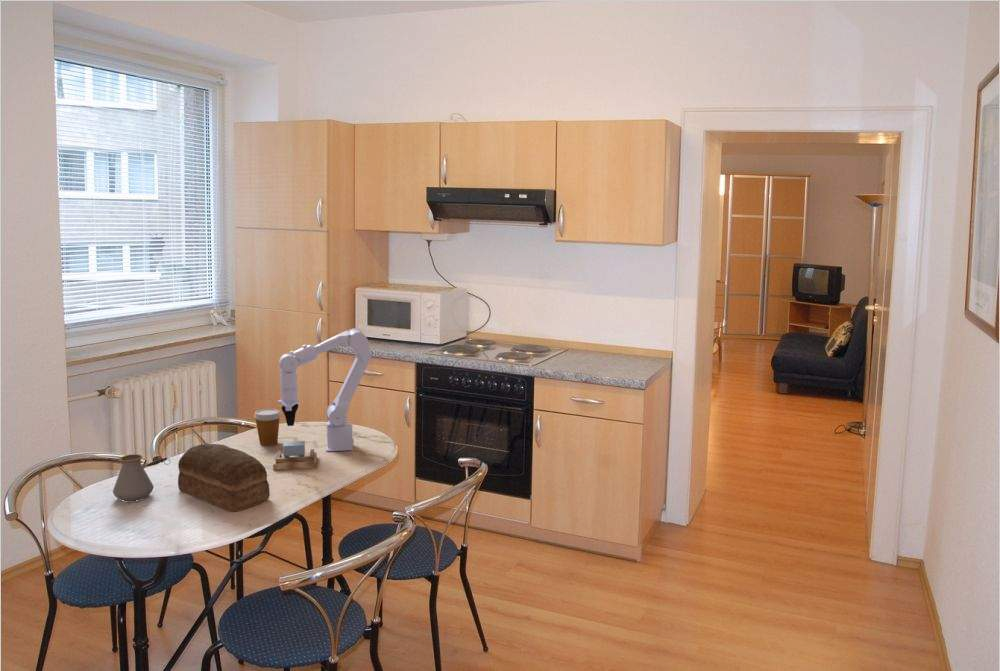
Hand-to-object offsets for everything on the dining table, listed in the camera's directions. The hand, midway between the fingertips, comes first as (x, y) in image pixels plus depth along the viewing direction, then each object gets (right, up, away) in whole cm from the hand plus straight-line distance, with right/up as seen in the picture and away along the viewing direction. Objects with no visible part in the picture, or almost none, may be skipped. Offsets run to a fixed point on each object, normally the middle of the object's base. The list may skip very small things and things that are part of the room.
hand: (290, 425), depth 304 cm
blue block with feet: (+4, -10, -11) cm, 16 cm away
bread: (-11, -18, -40) cm, 45 cm away
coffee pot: (-33, -18, -44) cm, 58 cm away
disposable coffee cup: (-11, -8, +12) cm, 18 cm away
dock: (+4, -12, -10) cm, 16 cm away
